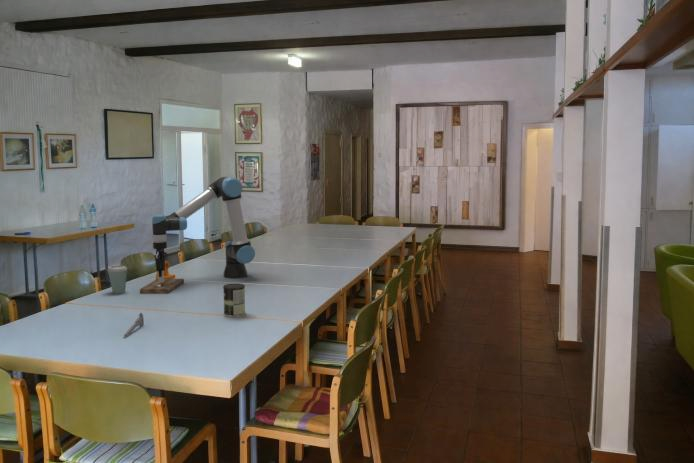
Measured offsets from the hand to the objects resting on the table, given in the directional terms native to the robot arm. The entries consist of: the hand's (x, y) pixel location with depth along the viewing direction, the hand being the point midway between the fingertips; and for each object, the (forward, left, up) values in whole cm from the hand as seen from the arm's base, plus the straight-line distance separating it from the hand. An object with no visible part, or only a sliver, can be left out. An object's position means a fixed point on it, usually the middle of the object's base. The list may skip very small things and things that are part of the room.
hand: (161, 281), depth 349 cm
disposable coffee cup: (+21, +11, -4) cm, 24 cm away
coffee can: (-55, +58, -4) cm, 80 cm away
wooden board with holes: (0, -2, -4) cm, 5 cm away
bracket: (+6, -26, -4) cm, 27 cm away
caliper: (-17, +88, -5) cm, 90 cm away
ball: (0, +4, -2) cm, 5 cm away
